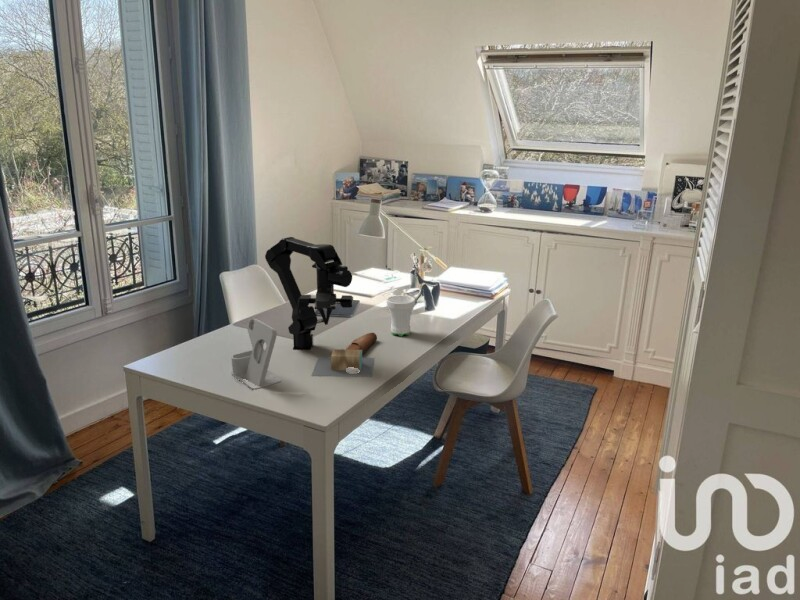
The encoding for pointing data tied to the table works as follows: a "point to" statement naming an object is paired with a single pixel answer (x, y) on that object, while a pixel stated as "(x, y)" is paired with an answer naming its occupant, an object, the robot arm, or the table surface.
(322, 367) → the rubber mat
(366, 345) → the sunglasses case
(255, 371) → the phone holder
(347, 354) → the oak block
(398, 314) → the cup
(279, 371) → the table surface
